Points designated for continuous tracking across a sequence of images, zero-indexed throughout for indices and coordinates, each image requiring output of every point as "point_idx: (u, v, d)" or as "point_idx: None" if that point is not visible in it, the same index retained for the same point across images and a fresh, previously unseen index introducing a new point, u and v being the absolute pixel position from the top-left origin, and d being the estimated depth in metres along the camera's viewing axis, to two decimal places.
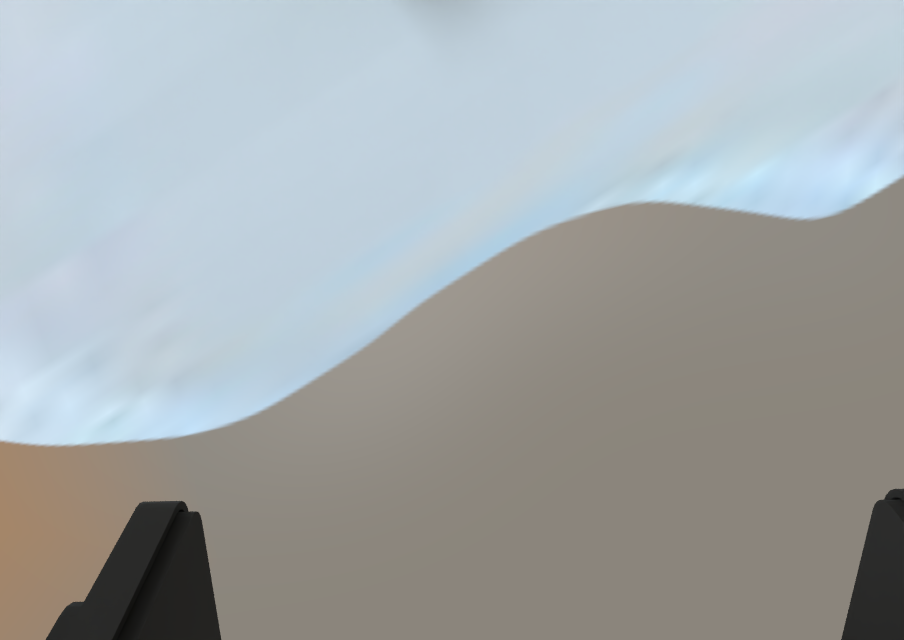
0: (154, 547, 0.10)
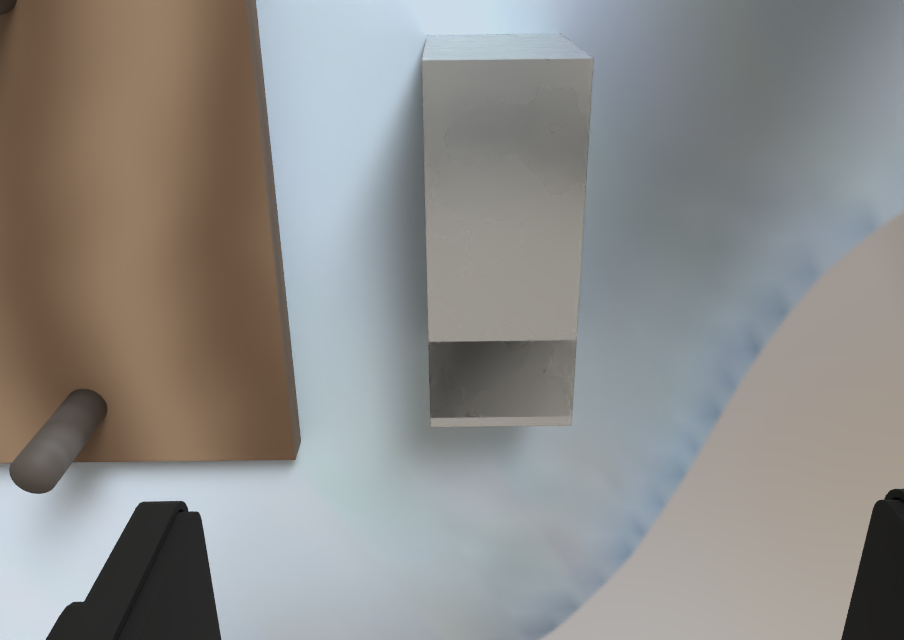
0: (154, 547, 0.10)
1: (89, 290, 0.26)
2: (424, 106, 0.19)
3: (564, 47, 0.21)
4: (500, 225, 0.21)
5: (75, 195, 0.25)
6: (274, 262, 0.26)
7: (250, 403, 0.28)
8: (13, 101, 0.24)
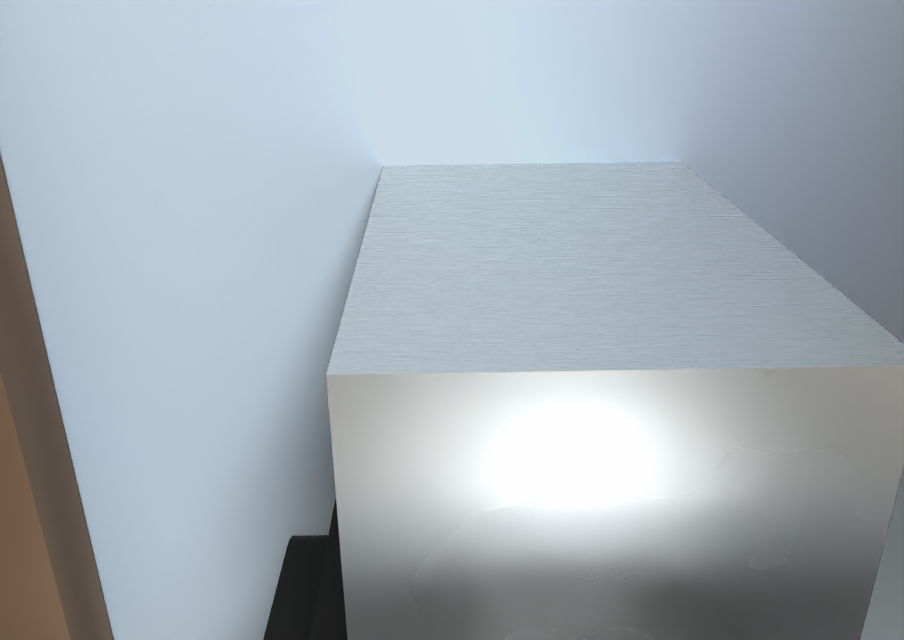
0: None
1: None
2: (342, 506, 0.06)
3: (751, 253, 0.07)
4: None
5: None
6: (71, 633, 0.12)
7: None
8: None
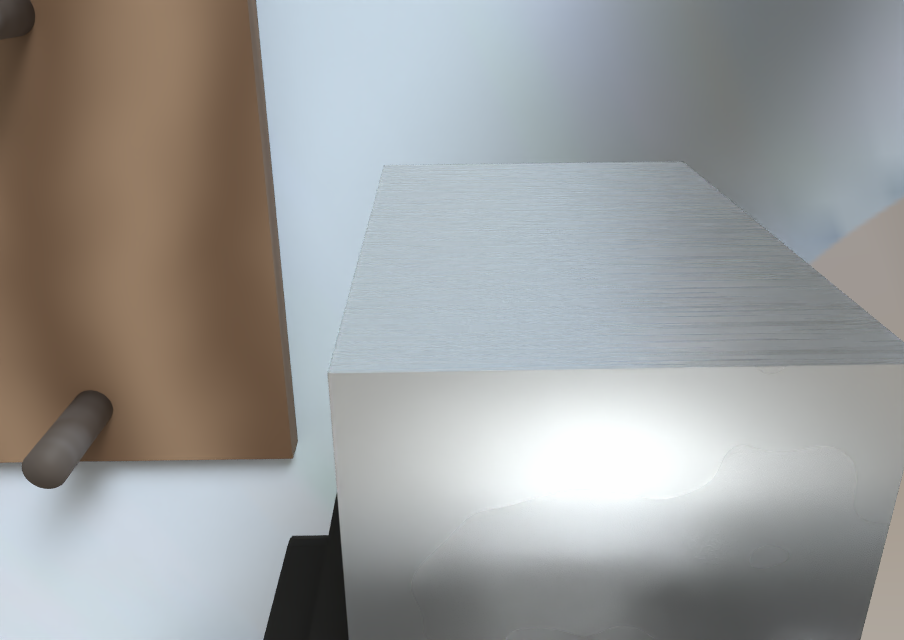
0: None
1: (97, 296, 0.28)
2: (343, 503, 0.06)
3: (752, 252, 0.07)
4: None
5: (86, 205, 0.26)
6: (274, 269, 0.27)
7: (250, 404, 0.29)
8: (29, 117, 0.25)
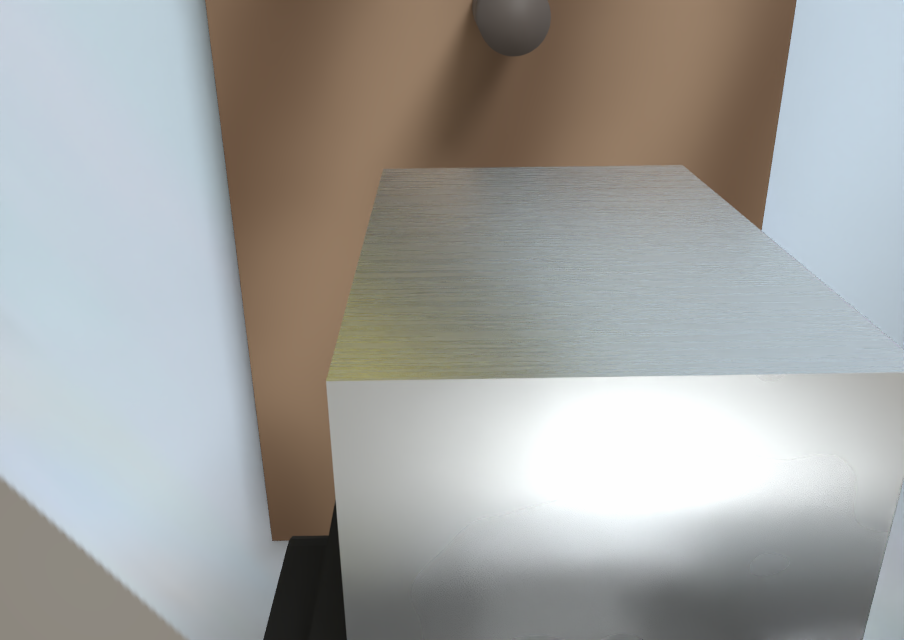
0: None
1: None
2: (342, 512, 0.06)
3: (752, 257, 0.07)
4: None
5: None
6: None
7: None
8: (494, 136, 0.21)
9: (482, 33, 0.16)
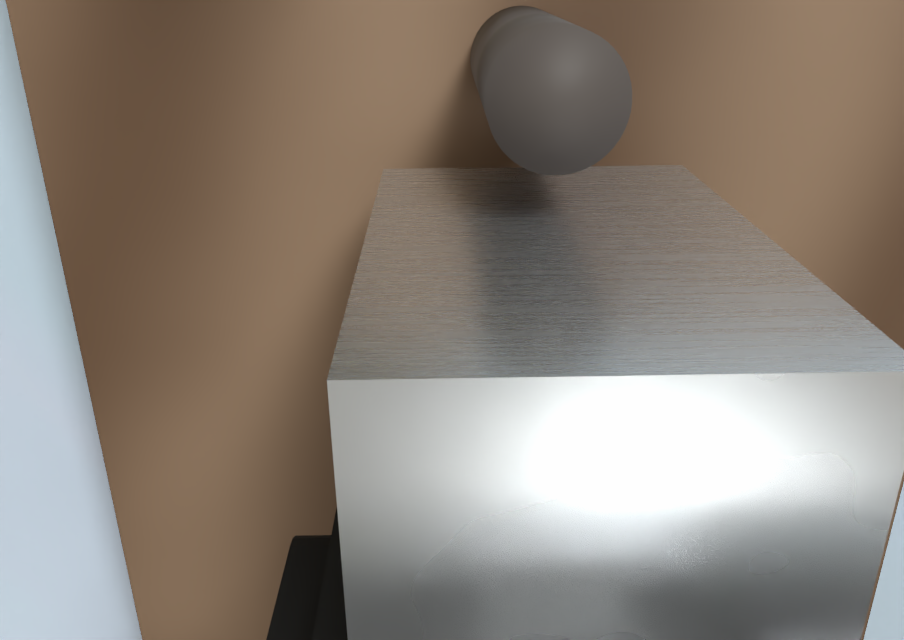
0: None
1: None
2: (343, 510, 0.06)
3: (751, 257, 0.07)
4: None
5: None
6: None
7: None
8: None
9: (494, 132, 0.08)
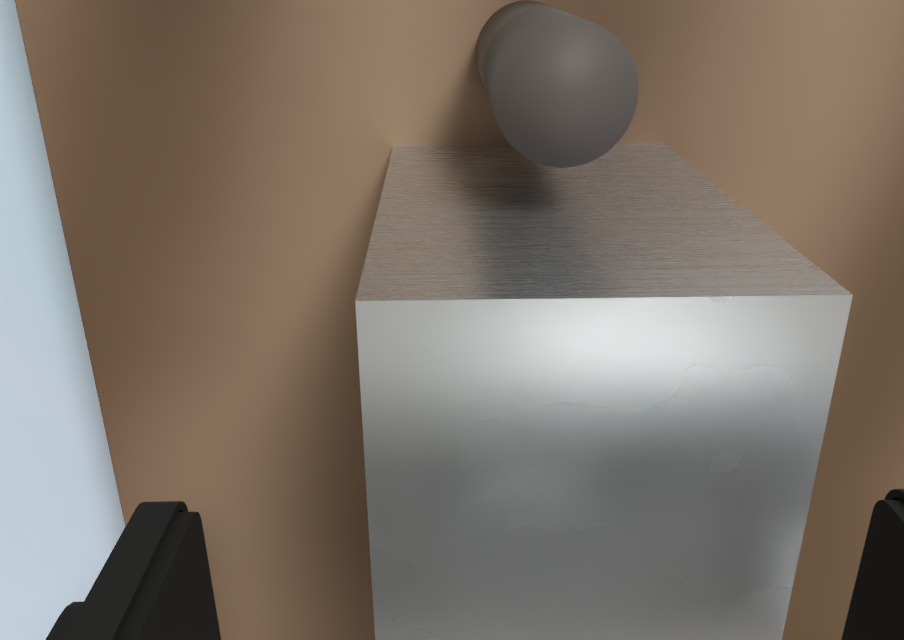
0: (154, 547, 0.10)
1: None
2: (366, 415, 0.07)
3: (717, 214, 0.09)
4: None
5: None
6: None
7: None
8: None
9: (501, 124, 0.08)
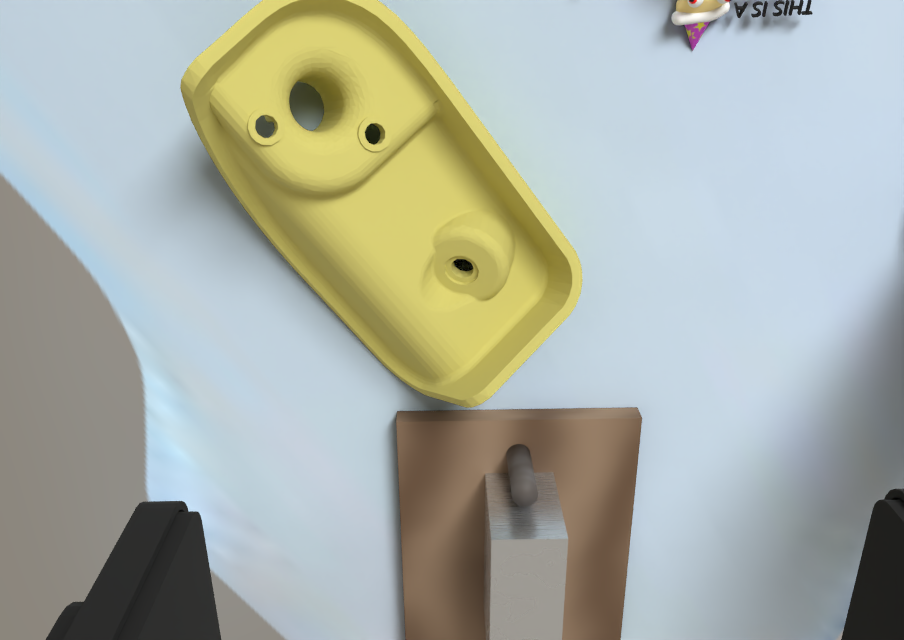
0: (154, 547, 0.10)
1: None
2: (491, 555, 0.43)
3: (555, 511, 0.44)
4: (525, 599, 0.44)
5: None
6: (627, 563, 0.51)
7: (600, 627, 0.53)
8: None
9: (513, 499, 0.44)
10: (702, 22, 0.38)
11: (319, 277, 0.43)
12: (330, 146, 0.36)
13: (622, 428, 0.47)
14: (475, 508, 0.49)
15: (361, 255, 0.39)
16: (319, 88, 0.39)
